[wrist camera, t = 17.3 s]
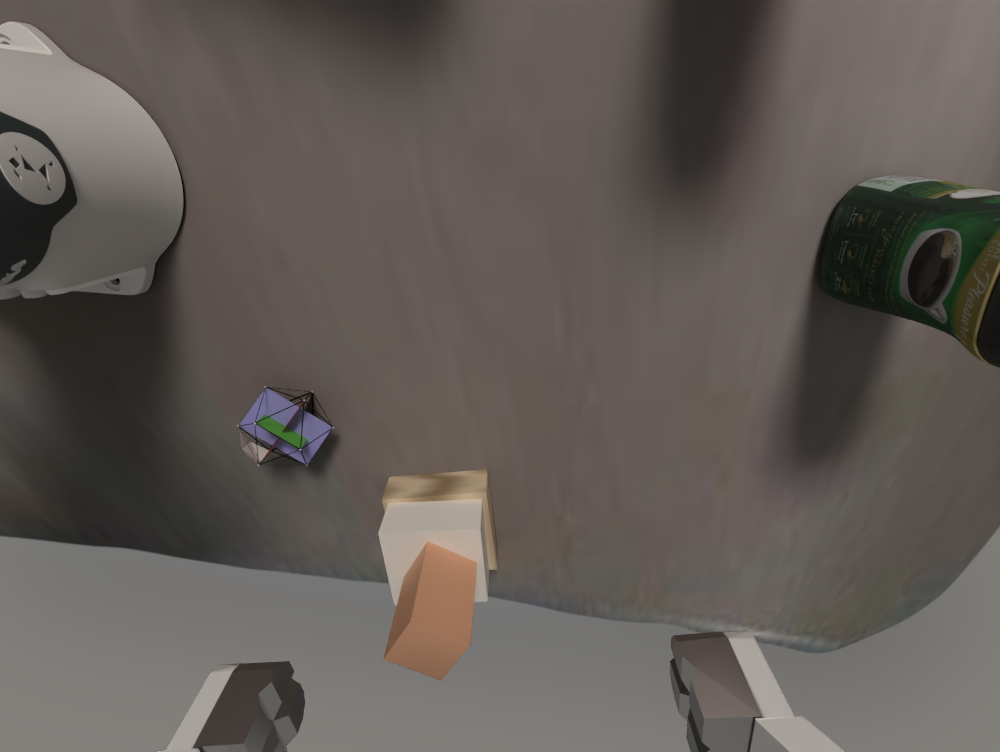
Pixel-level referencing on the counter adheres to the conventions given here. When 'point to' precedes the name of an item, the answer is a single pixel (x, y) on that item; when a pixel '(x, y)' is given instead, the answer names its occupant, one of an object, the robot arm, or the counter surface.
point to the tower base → (447, 496)
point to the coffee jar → (920, 256)
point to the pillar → (433, 612)
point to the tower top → (434, 537)
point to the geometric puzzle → (282, 428)
